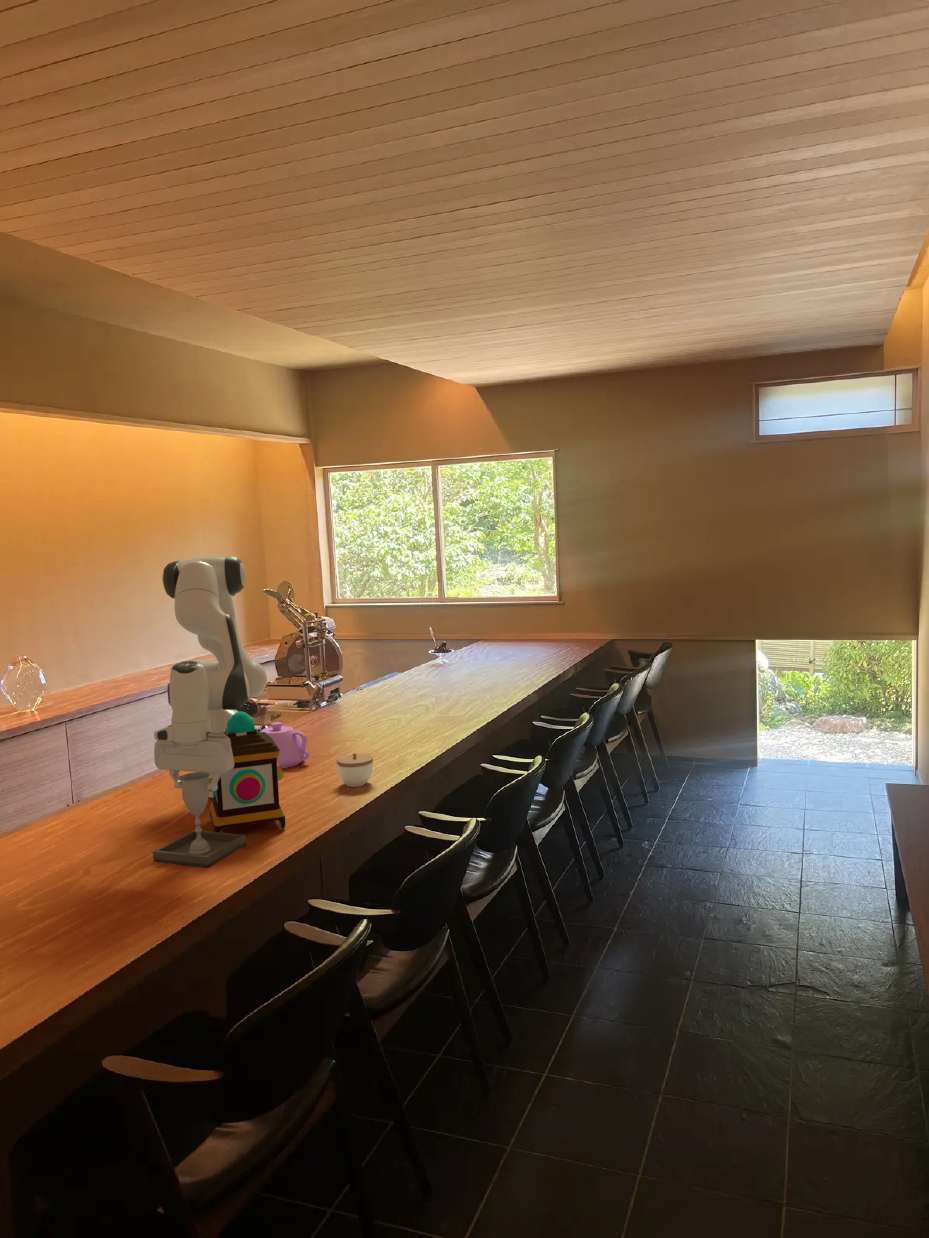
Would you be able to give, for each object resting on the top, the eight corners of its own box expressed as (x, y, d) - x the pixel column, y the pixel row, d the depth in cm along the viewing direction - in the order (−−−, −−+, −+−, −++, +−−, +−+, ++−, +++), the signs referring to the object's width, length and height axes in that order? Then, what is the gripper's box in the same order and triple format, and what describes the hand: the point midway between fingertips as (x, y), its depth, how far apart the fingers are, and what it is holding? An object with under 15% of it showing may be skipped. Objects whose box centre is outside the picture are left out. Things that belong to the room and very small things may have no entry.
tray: (194, 839, 214) (194, 829, 214) (246, 844, 209) (245, 834, 208) (153, 861, 200) (152, 851, 200) (207, 868, 195) (206, 857, 194)
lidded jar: (330, 787, 255) (329, 756, 254) (351, 777, 264) (350, 747, 264) (360, 790, 250) (359, 759, 249) (381, 780, 259) (379, 750, 259)
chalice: (204, 842, 209) (199, 770, 207) (221, 848, 205) (216, 774, 203) (178, 851, 203) (172, 777, 202) (194, 857, 199) (189, 782, 197)
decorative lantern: (204, 819, 230) (197, 708, 227) (279, 808, 236) (273, 700, 234) (210, 843, 211) (202, 723, 208) (291, 830, 218) (285, 714, 215)
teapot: (322, 757, 290) (319, 718, 289) (297, 772, 273) (294, 729, 272) (256, 755, 297) (253, 716, 296) (228, 768, 281) (225, 727, 279)
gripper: (237, 730, 201) (241, 788, 202) (165, 726, 208) (170, 782, 209) (221, 736, 195) (225, 795, 196) (148, 732, 202) (152, 790, 203)
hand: (196, 789), depth 203 cm, fingers open, 8 cm apart
